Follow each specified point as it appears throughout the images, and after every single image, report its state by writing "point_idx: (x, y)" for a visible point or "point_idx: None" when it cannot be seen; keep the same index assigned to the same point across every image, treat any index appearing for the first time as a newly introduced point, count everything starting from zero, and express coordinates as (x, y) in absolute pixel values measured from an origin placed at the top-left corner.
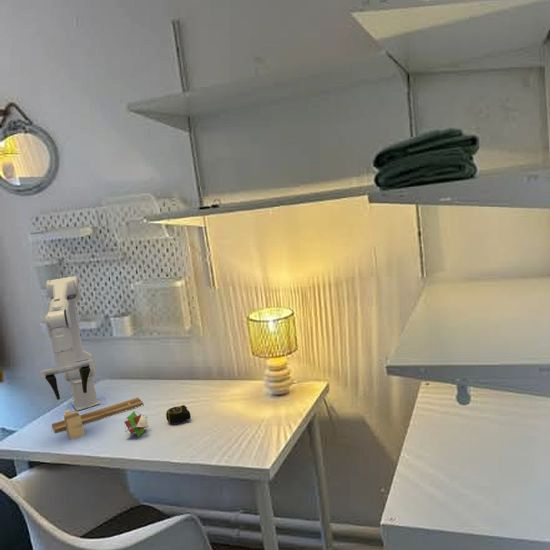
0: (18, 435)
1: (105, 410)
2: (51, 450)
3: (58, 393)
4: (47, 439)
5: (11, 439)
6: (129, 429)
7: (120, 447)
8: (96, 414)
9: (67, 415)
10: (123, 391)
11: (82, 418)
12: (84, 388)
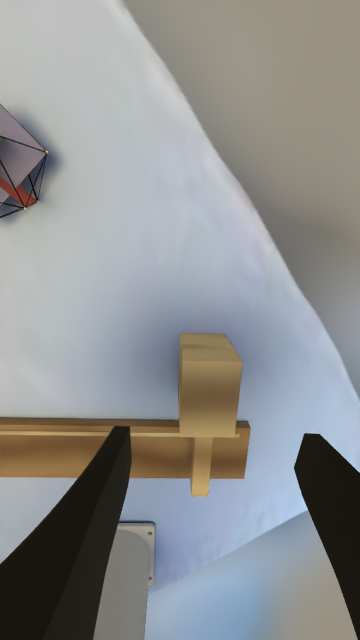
0: None
1: (78, 454)
2: (296, 301)
3: (337, 469)
4: (279, 394)
5: None
6: (23, 137)
7: (98, 105)
8: None
9: (223, 419)
10: (2, 560)
11: (156, 448)
12: (116, 450)
